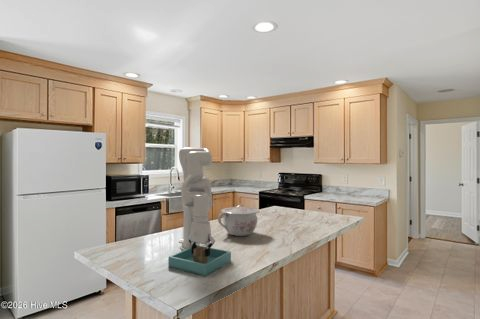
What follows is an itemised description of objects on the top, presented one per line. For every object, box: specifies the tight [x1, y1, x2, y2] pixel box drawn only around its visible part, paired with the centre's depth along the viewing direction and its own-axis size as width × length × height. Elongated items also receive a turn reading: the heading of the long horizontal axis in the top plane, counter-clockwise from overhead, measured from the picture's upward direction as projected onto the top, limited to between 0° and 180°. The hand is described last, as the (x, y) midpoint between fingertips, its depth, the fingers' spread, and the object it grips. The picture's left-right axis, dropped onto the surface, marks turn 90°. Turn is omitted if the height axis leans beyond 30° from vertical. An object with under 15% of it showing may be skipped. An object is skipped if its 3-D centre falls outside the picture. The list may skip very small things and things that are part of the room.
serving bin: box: [167, 245, 232, 277], centre depth 143 cm, size 22×22×5 cm
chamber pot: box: [217, 204, 260, 237], centre depth 203 cm, size 28×28×21 cm
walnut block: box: [193, 246, 208, 264], centre depth 143 cm, size 5×5×7 cm
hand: (200, 254), depth 143 cm, fingers open, 7 cm apart
